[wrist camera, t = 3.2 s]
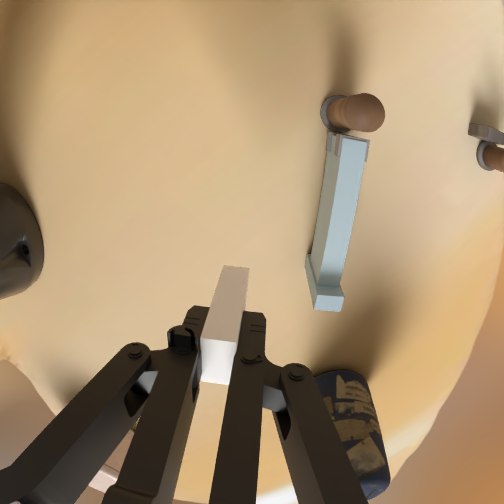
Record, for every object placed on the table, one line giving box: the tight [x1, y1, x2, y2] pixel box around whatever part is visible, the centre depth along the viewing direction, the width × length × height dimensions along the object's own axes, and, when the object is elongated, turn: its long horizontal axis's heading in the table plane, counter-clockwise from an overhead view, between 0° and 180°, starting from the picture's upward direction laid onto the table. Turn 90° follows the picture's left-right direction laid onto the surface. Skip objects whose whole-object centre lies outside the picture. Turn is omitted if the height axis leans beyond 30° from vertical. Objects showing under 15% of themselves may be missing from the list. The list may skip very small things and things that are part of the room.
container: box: [89, 430, 134, 493], centre depth 44 cm, size 18×18×12 cm
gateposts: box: [320, 93, 504, 172], centre depth 20 cm, size 21×4×8 cm, turn 85°
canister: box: [314, 370, 390, 500], centre depth 30 cm, size 10×10×18 cm
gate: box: [305, 132, 370, 312], centre depth 24 cm, size 13×2×8 cm, turn 175°
